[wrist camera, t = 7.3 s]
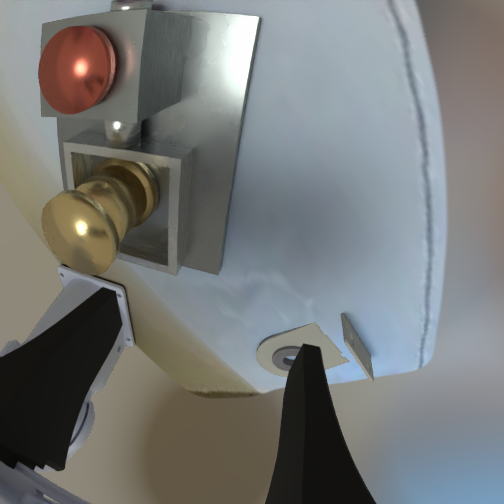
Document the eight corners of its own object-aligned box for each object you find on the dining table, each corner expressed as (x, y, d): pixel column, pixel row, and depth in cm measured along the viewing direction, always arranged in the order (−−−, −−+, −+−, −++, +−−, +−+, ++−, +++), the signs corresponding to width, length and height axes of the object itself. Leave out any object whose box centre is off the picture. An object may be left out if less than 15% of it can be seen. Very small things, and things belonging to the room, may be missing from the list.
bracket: (244, 339, 29) (236, 370, 26) (346, 307, 24) (347, 341, 21) (280, 375, 31) (275, 403, 29) (372, 351, 27) (374, 382, 24)
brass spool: (159, 226, 21) (117, 284, 16) (100, 213, 21) (52, 263, 17) (158, 158, 18) (104, 206, 13) (93, 150, 18) (33, 192, 14)
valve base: (220, 268, 23) (192, 338, 18) (76, 228, 24) (30, 278, 19) (263, 8, 12) (231, -15, 7) (67, 13, 13) (-10, 22, 8)
